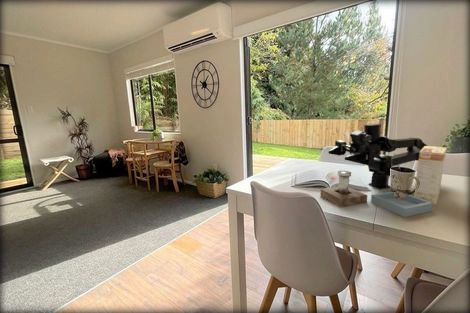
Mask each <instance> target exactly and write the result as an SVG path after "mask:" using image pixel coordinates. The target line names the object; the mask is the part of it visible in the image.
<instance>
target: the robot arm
mask: <svg viewBox="0 0 470 313" xmlns="http://www.w3.org/2000/svg"><path fill="white" fill-rule="evenodd" d="M363 126H364V127H363V128H364V129H363V131H362V130H357V129H356V130H355V131H353V132H351V133H350V134H349V135H350V138H351V142H350V143H349V145H348V144H347V142H346V141H345V140H342V139H338V140H335V143H334V147H333V148H331V149H330V150H328V154H329V155H335V156H344V155H346V153H347V152H348V153H349V155H346V156H345V157H344V160H345V161H348V162H353V163H356V164H361V165H365V166H367V168H368V172H371V173H372V175H371V181H370V183H368V186H371V187H374V188H376V189H380V190H382V189H389V188H391V187H390V186H391V185H389V179H390V177H391V176H390V168H391V167H392V166H395V165H399V164H400V165H402V164H406V163H411V162H414V161H418V162H419V154H420V151H421V150H422V149H423V147H424V146H428V145H427V144H426V143H425V142H423V140H422V139H421V138H418V137H406V138H397V139H395V138H394V139H390V138H389V137H387V136H385V135H383V136H382V135H381V128H382V124H381V123H365V124H364V125H363ZM404 148H407V149H406V152H401V153H398V154H396V155H394V154H393V156H392V155H387V154H382V153H381V152H384V153H392V152H394V151H396V150H398V149H404Z"/></svg>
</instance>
